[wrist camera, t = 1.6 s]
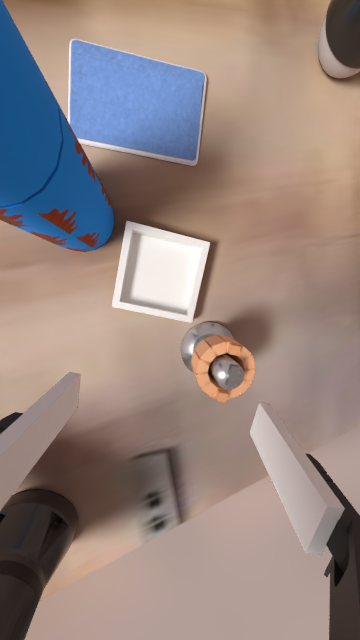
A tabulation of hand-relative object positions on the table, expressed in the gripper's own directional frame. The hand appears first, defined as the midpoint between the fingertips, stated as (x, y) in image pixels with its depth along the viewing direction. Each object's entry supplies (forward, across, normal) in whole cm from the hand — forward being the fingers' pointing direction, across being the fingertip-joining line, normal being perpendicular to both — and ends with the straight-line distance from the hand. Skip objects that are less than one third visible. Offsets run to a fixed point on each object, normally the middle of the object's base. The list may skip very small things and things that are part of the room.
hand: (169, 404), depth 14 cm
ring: (+15, -7, +2) cm, 17 cm away
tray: (+21, +4, -9) cm, 23 cm away
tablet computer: (+23, +11, -32) cm, 41 cm away
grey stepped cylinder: (+21, -7, +3) cm, 22 cm away
